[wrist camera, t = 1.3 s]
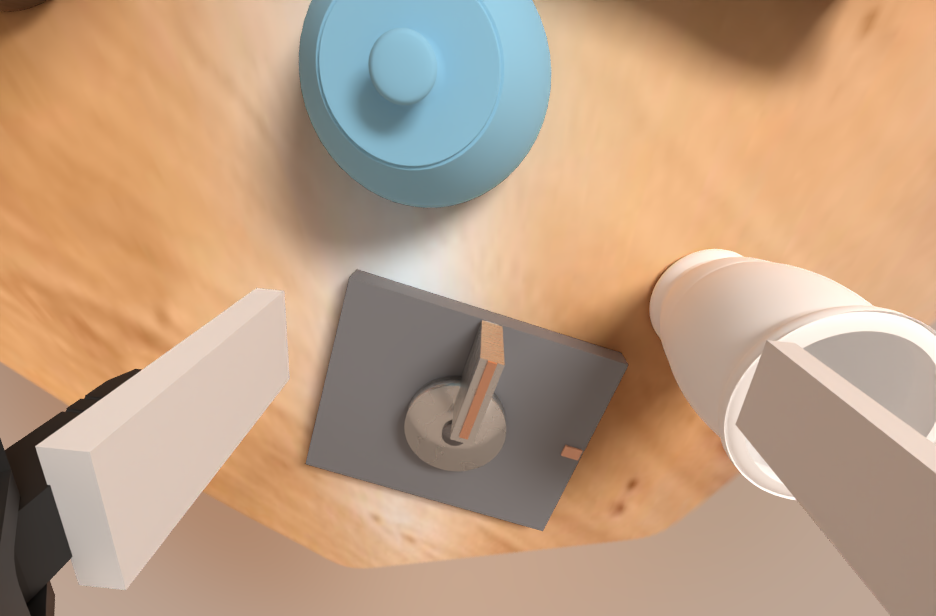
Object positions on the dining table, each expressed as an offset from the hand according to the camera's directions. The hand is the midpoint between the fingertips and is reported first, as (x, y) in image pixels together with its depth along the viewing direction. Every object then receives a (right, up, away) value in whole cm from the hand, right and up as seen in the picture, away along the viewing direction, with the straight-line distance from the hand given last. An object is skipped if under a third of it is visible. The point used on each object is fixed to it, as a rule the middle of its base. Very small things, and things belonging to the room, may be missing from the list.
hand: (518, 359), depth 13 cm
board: (-2, -7, +27) cm, 28 cm away
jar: (+17, +2, +23) cm, 28 cm away
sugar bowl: (-4, +16, +18) cm, 25 cm away
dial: (-2, -5, +24) cm, 25 cm away
